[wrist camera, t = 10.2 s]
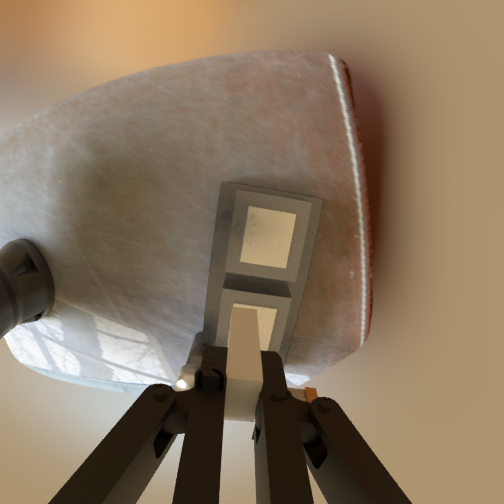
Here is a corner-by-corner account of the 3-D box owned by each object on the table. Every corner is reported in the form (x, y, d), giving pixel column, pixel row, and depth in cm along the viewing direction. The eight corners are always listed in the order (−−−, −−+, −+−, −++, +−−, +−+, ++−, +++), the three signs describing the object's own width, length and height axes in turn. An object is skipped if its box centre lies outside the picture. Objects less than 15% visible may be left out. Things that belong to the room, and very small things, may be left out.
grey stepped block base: (193, 354, 40) (183, 387, 32) (212, 180, 34) (201, 180, 26) (278, 365, 41) (283, 400, 33) (317, 197, 34) (336, 203, 27)
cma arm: (177, 382, 32) (172, 398, 29) (181, 359, 31) (175, 376, 28) (305, 405, 33) (309, 422, 30) (316, 386, 32) (321, 402, 29)
